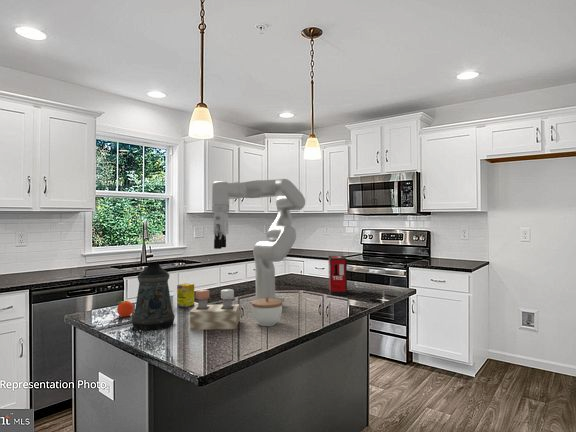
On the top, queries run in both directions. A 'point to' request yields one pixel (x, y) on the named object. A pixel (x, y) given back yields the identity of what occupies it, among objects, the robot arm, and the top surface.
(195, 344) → the top surface
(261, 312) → the lidded bowl
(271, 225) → the robot arm
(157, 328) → the beer stein
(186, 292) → the supplement box
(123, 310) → the clementine
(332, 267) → the cleaning product box
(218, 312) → the button box
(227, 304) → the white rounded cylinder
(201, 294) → the terracotta button
